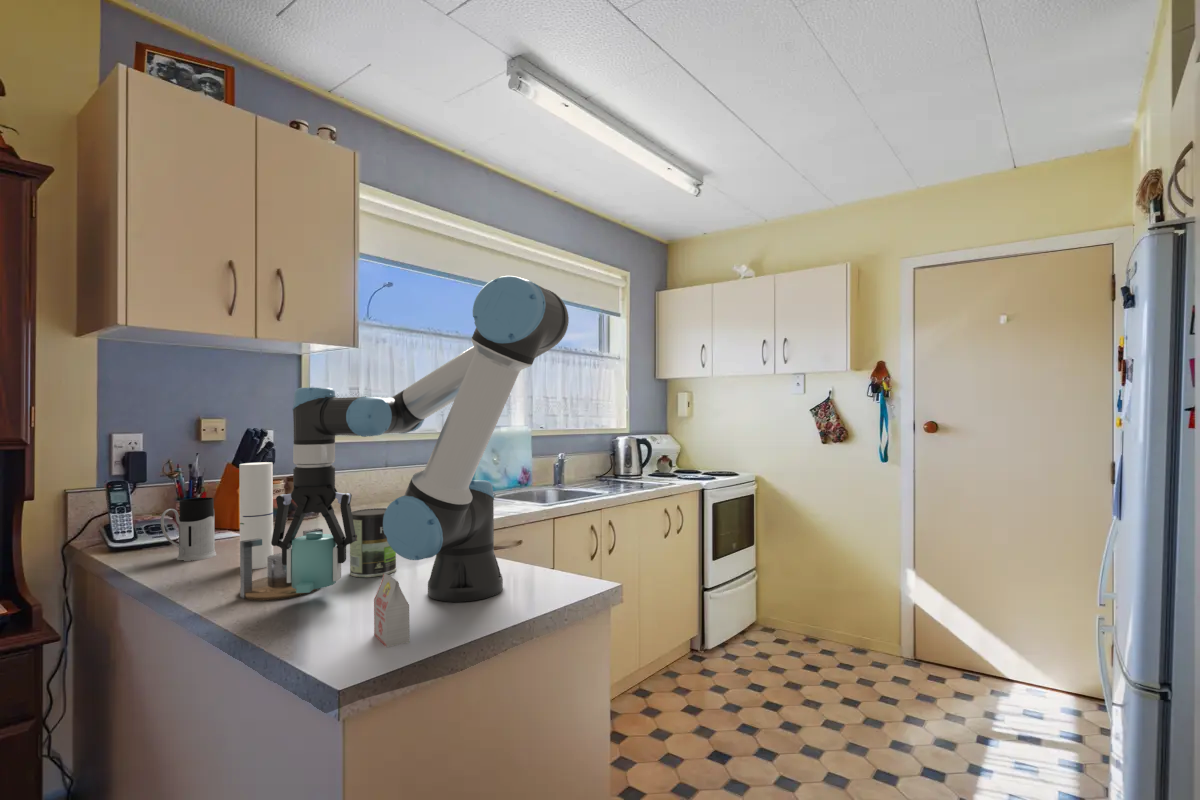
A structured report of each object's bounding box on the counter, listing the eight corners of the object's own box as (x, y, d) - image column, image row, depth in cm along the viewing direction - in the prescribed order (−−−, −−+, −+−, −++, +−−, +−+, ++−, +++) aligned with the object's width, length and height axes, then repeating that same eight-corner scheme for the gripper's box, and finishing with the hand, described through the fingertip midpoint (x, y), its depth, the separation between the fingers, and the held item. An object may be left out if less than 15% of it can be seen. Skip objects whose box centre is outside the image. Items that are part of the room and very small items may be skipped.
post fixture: (339, 586, 131) (339, 532, 132) (259, 605, 119) (258, 546, 119) (304, 574, 142) (303, 524, 142) (226, 591, 129) (226, 536, 129)
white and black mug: (224, 553, 164) (224, 497, 164) (175, 567, 150) (175, 505, 150) (198, 552, 166) (197, 496, 166) (147, 565, 152) (147, 504, 153)
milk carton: (396, 630, 105) (395, 571, 105) (409, 641, 99) (409, 579, 99) (374, 634, 103) (373, 575, 103) (386, 647, 97) (385, 583, 97)
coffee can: (404, 567, 147) (404, 508, 147) (381, 578, 137) (380, 515, 137) (366, 565, 149) (365, 507, 149) (340, 576, 139) (339, 514, 139)
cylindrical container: (259, 569, 146) (258, 464, 147) (232, 569, 148) (232, 464, 148) (279, 562, 153) (279, 462, 154) (254, 561, 155) (253, 462, 155)
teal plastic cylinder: (344, 574, 128) (344, 526, 128) (325, 592, 116) (325, 539, 116) (304, 576, 127) (304, 527, 127) (280, 593, 115) (280, 540, 115)
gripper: (373, 462, 127) (373, 573, 126) (267, 464, 124) (267, 576, 124) (363, 466, 119) (363, 583, 119) (250, 467, 117) (250, 587, 117)
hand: (314, 580), depth 122 cm, fingers closed on teal plastic cylinder, 8 cm apart
